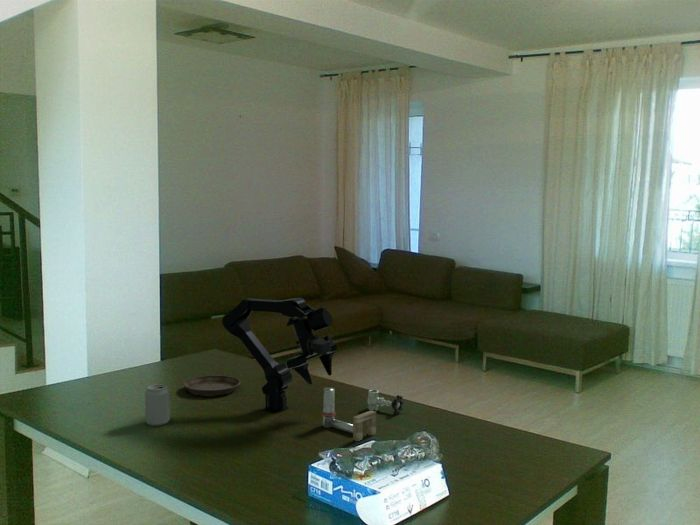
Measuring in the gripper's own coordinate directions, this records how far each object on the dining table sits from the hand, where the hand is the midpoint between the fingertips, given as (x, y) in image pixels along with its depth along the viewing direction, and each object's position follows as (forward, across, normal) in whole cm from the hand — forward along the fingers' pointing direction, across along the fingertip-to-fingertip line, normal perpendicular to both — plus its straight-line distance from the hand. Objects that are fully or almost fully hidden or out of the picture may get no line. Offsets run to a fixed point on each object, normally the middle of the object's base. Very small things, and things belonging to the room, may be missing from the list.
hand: (320, 379), depth 222 cm
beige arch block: (+19, -6, -18) cm, 27 cm away
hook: (+16, -7, -9) cm, 19 cm away
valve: (+18, +17, -6) cm, 25 cm away
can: (-5, -42, +34) cm, 54 cm away
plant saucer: (-6, -8, +51) cm, 52 cm away
